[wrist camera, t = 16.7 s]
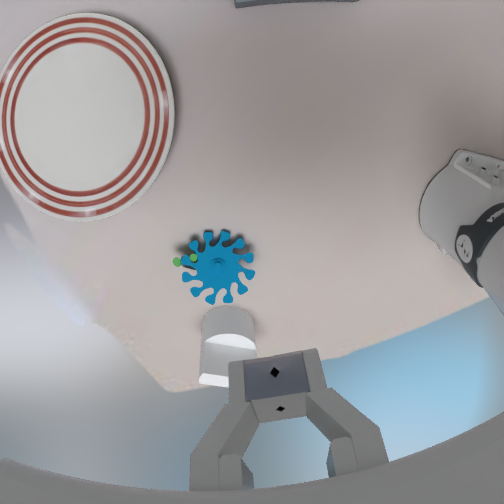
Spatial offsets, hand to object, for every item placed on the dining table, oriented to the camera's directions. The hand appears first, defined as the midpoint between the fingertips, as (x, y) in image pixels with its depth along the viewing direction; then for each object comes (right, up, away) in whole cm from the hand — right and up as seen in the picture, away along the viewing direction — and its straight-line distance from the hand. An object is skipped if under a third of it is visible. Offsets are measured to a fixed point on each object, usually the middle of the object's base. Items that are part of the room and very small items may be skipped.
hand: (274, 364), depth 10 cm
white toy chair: (-5, -9, +44) cm, 45 cm away
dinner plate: (-23, +21, +22) cm, 38 cm away
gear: (-6, +4, +35) cm, 36 cm away
